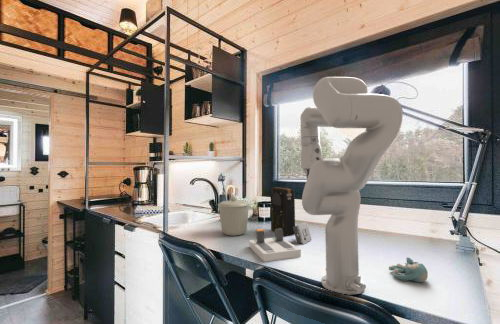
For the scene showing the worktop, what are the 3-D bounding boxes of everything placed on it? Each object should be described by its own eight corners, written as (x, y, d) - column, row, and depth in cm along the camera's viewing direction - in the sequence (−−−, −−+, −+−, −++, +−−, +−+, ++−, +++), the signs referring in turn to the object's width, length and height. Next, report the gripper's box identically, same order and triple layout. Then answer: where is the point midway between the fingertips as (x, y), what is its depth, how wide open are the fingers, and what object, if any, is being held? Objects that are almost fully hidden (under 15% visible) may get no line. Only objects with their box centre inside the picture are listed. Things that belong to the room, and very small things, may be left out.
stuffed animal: (397, 252, 94) (433, 256, 84) (402, 273, 93) (438, 279, 82) (378, 257, 89) (413, 262, 79) (382, 280, 88) (418, 287, 77)
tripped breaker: (264, 242, 116) (264, 229, 116) (258, 242, 115) (257, 230, 115) (262, 241, 118) (262, 228, 118) (256, 241, 117) (256, 229, 117)
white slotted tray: (300, 256, 106) (300, 249, 106) (264, 261, 102) (263, 253, 102) (281, 243, 125) (280, 236, 125) (249, 246, 121) (249, 239, 121)
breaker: (283, 240, 118) (282, 229, 118) (277, 240, 117) (276, 229, 117) (281, 239, 120) (281, 228, 120) (275, 239, 119) (275, 228, 119)
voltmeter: (269, 230, 150) (268, 187, 151) (281, 228, 154) (281, 186, 155) (283, 237, 136) (282, 189, 137) (297, 235, 140) (296, 188, 140)
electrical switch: (303, 245, 122) (301, 225, 123) (293, 244, 126) (291, 224, 126) (312, 240, 130) (310, 221, 130) (302, 239, 133) (300, 221, 134)
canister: (239, 239, 133) (238, 198, 133) (211, 235, 142) (210, 196, 142) (256, 231, 149) (255, 194, 149) (230, 228, 158) (229, 193, 158)
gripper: (328, 140, 101) (330, 187, 100) (308, 143, 115) (309, 185, 115) (312, 139, 99) (313, 188, 98) (293, 143, 113) (294, 186, 112)
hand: (311, 186), depth 106 cm, fingers closed
